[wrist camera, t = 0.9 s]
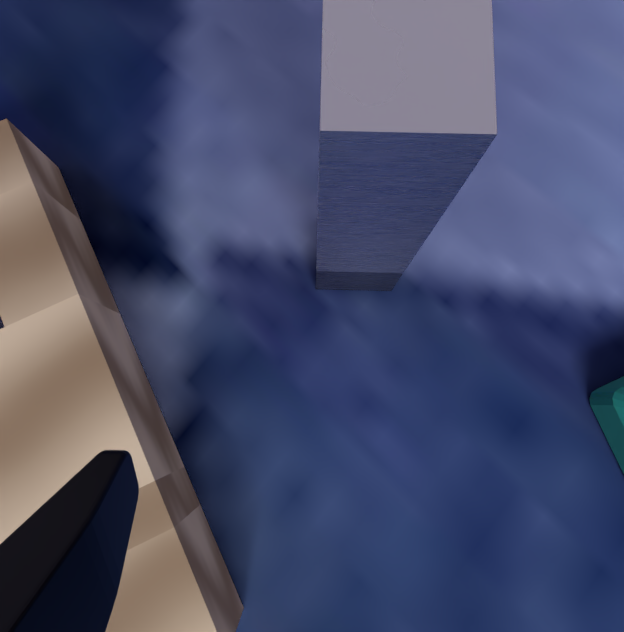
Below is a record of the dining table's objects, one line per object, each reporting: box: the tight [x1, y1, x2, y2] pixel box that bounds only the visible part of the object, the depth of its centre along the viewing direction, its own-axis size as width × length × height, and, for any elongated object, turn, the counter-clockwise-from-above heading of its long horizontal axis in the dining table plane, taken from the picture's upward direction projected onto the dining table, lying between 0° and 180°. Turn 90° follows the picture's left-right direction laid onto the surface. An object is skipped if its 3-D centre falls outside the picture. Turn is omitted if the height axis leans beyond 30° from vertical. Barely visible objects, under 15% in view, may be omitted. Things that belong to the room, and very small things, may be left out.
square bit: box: [316, 0, 497, 291], centre depth 16 cm, size 3×3×13 cm
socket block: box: [0, 118, 244, 632], centre depth 19 cm, size 20×10×4 cm, turn 26°
